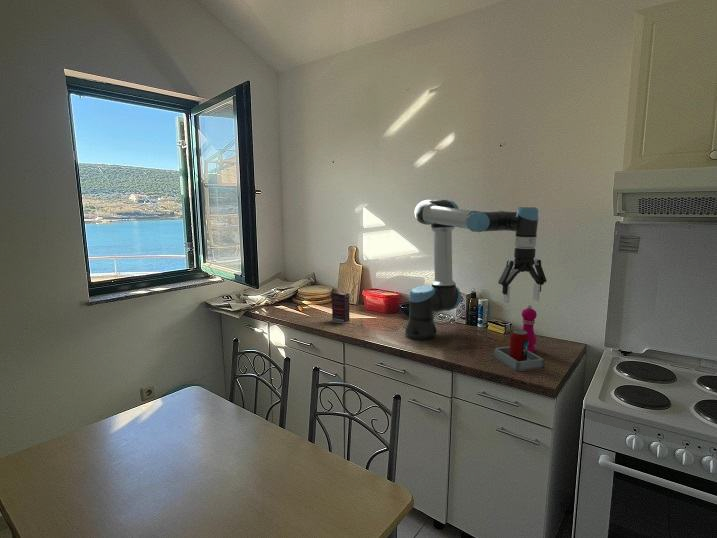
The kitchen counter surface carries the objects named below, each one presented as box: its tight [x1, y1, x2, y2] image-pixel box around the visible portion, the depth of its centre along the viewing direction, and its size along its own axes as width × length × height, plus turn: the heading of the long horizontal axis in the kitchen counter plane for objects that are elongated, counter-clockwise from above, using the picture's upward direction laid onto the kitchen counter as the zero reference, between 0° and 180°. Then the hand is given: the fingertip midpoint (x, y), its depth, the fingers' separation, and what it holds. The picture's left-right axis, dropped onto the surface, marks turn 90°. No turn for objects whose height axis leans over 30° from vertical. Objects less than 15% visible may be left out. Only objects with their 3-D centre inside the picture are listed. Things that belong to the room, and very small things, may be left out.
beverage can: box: [509, 329, 529, 361], centre depth 163 cm, size 7×7×12 cm
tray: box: [492, 345, 546, 372], centre depth 164 cm, size 16×12×4 cm
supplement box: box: [331, 291, 351, 325], centre depth 218 cm, size 9×5×16 cm, turn 56°
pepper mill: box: [521, 304, 538, 353], centre depth 176 cm, size 7×7×20 cm
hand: (521, 301), depth 160 cm, fingers open, 13 cm apart
